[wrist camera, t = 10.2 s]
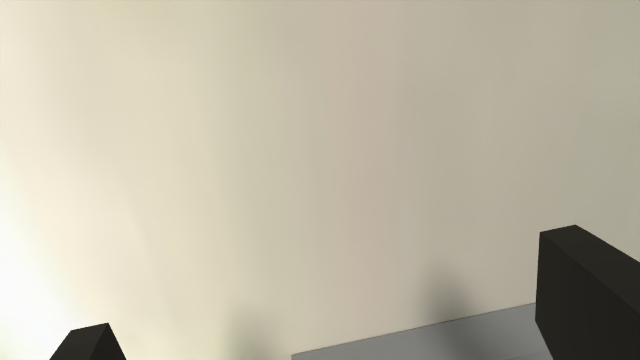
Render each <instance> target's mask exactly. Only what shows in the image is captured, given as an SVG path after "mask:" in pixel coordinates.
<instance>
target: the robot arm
mask: <svg viewBox="0 0 640 360" xmlns="http://www.w3.org/2000/svg"><path fill="white" fill-rule="evenodd" d="M535 322H536V324H537V326H538V328H539V330H540V333H541V335H542V337H543V339H544V341H545V343H546V346H547V348H548V350H549V352H550V354H551V356H552V358H553V360H640V262H638V261H637V260H635V259H633V258H631V257H630V256H628V255H626V254H625V253H623V252H621V251H620V250H618V249H616V248H615V247H613V246H611V245H610V244H608V243H606V242H605V241H603V240H601V239H600V238H598V237H596V236H595V235H593V234H591V233H589V232H588V231H586V230H584V229H582V228H581V227H579V226H577V225H572V226H567V227H562V228H557V229H553V230H548V231H543V232H540V238H539V255H538V273H537V291H536V309H535ZM50 360H126V358H125V356H124V354H123V352H122V350H121V348H120V346H119V344H118V341H117V339H116V337H115V335H114V333H113V331H112V329H111V327H110V325H109V323H104V324H99V325H94V326H90V327H85V328H80V329H75V330H71V331H70V332H69V334H68V335H67V336H66V338H65V339H64V340H63V342H62V343H61V344H60V346H59V347H58V349H57V350H56V351H55V353H54V354H53V355H52V357H51V358H50Z"/></svg>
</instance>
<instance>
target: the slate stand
mask: <svg viewBox="0 0 640 360" xmlns="http://www.w3.org/2000/svg"><path fill="white" fill-rule="evenodd" d="M535 309H536V303H533V304H528V305H523V306H519V307H514V308H509V309H505V310H500V311H495V312H491V313H486V314H481V315H477V316H472V317H467V318H462V319H458V320H453V321H448V322H444V323H439V324H434V325H430V326H425V327H420V328H416V329H411V330H406V331H402V332H397V333H392V334H387V335H383V336H378V337H373V338H369V339H364V340H359V341H355V342H350V343H345V344H341V345H336V346H331V347H327V348H322V349H317V350H312V351H308V352H303V353H298V354H294V355H291V356H292V360H553V358H552V356H551V354H550V352H549V350H548V348H547V346H546V343H545V341H544V339H543V337H542V335H541V333H540V330H539V328H538V326H537V324H536V322H535Z"/></svg>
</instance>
